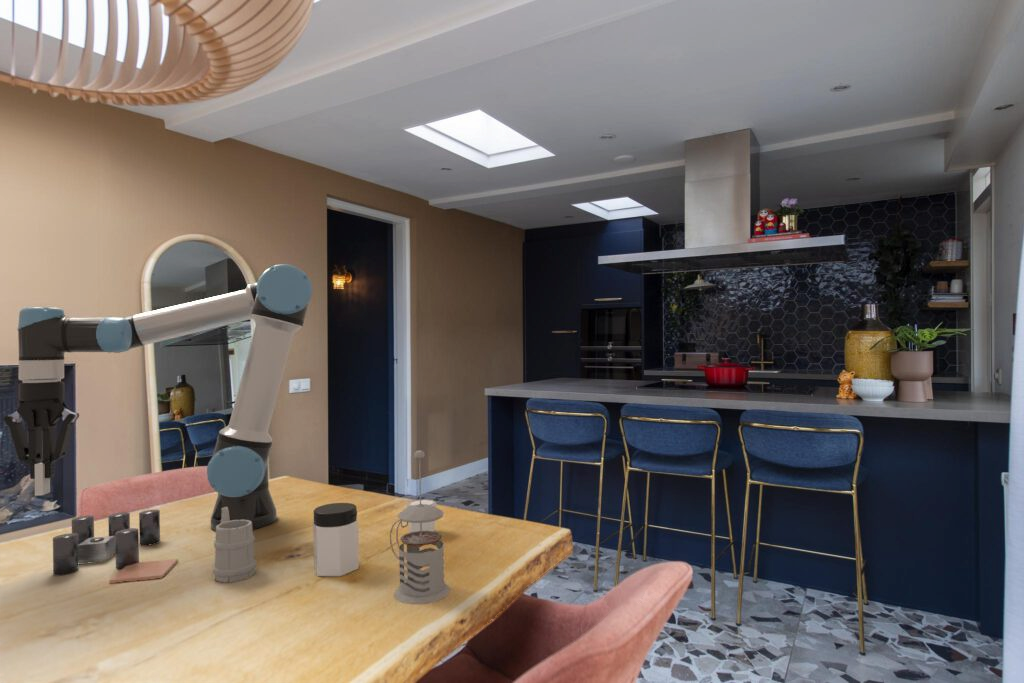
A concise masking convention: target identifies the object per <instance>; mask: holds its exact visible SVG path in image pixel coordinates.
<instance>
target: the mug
mask: <svg viewBox="0 0 1024 683" xmlns="http://www.w3.org/2000/svg"><path fill="white" fill-rule="evenodd" d="M221 511H222V515H221V523H220V524H219V525H217V526H216V531H215V540H214V541H213V546H214V547H213V548H214V553H215V554H214V557H215V558H214V564H213V567H212V574H213V575H214V580H215V579H216V580H215V581H217V582H219V581H221V583H234V582H233V581H235V582H239V581H238V580H240V581H242V580H246V579H248V578H251V577H252V576H253V575H254V574H256V567H257V559H256V558H255V552H254V550H255V549H254V543H255V540H256V539H255V535H254V532H253V531H254V530H253V529H252V522H251V521H250V520H232V521H230V518H229V510H228V507H224V508H221ZM228 581H229V582H228Z"/></svg>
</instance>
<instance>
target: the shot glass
mask: <svg viewBox="0 0 1024 683" xmlns="http://www.w3.org/2000/svg"><path fill="white" fill-rule="evenodd" d="M418 504H420V499H416V500H411V501H409V502H407V503H406V508H408V507H411V506H413V505H418ZM421 504H427V505H432V506H435V507H436V508H437V501H436V500H433V499H421ZM408 526H409V533H410V532H414V531H420V523H410V522H408ZM435 527H436V520H435V521H432V522H426V523H422V531H432V532H433V531H435ZM435 532H436V531H435Z"/></svg>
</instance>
